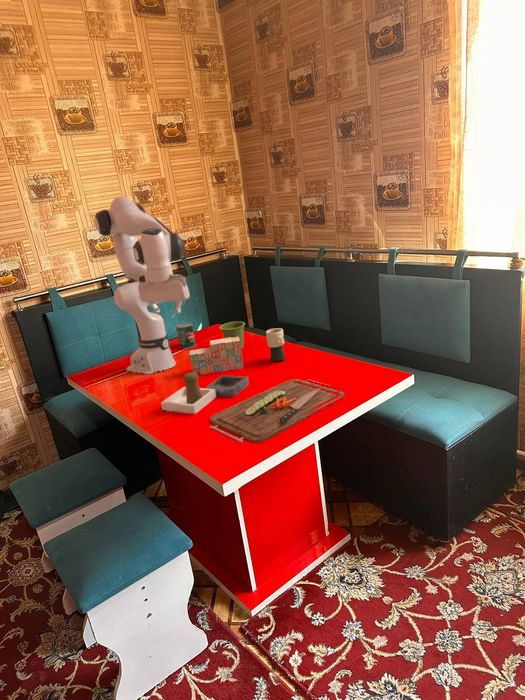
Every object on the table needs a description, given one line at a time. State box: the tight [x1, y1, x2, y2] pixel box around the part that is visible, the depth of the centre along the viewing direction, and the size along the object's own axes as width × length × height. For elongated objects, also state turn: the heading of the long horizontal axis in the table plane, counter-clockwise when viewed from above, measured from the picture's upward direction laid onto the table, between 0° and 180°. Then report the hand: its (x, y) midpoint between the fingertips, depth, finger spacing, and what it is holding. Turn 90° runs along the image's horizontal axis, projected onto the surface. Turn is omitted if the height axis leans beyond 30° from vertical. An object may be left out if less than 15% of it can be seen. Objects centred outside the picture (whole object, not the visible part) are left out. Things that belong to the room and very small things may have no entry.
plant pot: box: [219, 321, 246, 349], centre depth 236 cm, size 12×12×11 cm
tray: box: [160, 386, 217, 415], centre depth 182 cm, size 14×14×3 cm
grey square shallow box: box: [205, 375, 250, 398], centre depth 190 cm, size 12×12×3 cm
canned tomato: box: [175, 322, 197, 350], centre depth 250 cm, size 8×8×11 cm
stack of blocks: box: [188, 337, 244, 376], centre depth 211 cm, size 21×6×12 cm, turn 95°
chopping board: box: [209, 378, 345, 443], centre depth 169 cm, size 45×27×3 cm, turn 131°
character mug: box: [265, 327, 286, 362], centre depth 212 cm, size 11×7×13 cm, turn 27°
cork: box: [183, 371, 202, 404], centre depth 179 cm, size 6×6×11 cm
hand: (167, 312), depth 186 cm, fingers open, 8 cm apart
